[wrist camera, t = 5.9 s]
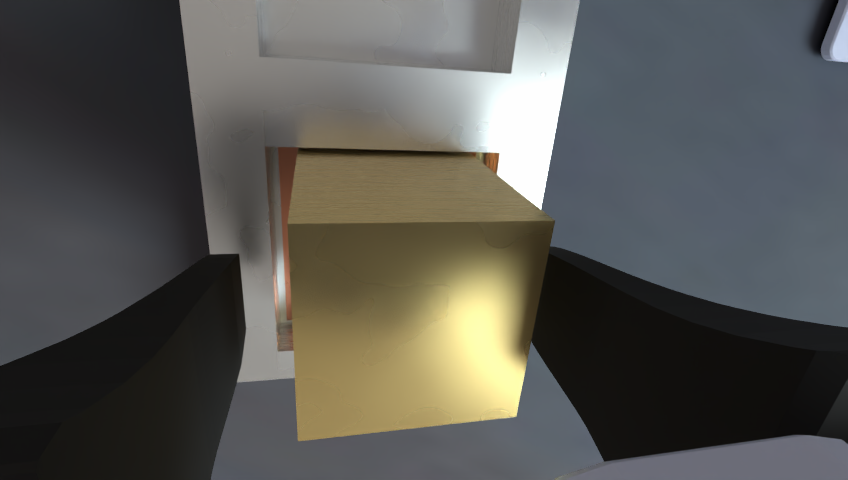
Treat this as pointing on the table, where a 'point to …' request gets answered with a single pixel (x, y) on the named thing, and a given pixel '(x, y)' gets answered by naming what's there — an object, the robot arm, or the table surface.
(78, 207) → the table surface
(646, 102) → the table surface
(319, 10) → the rail
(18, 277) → the table surface
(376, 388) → the brass block
